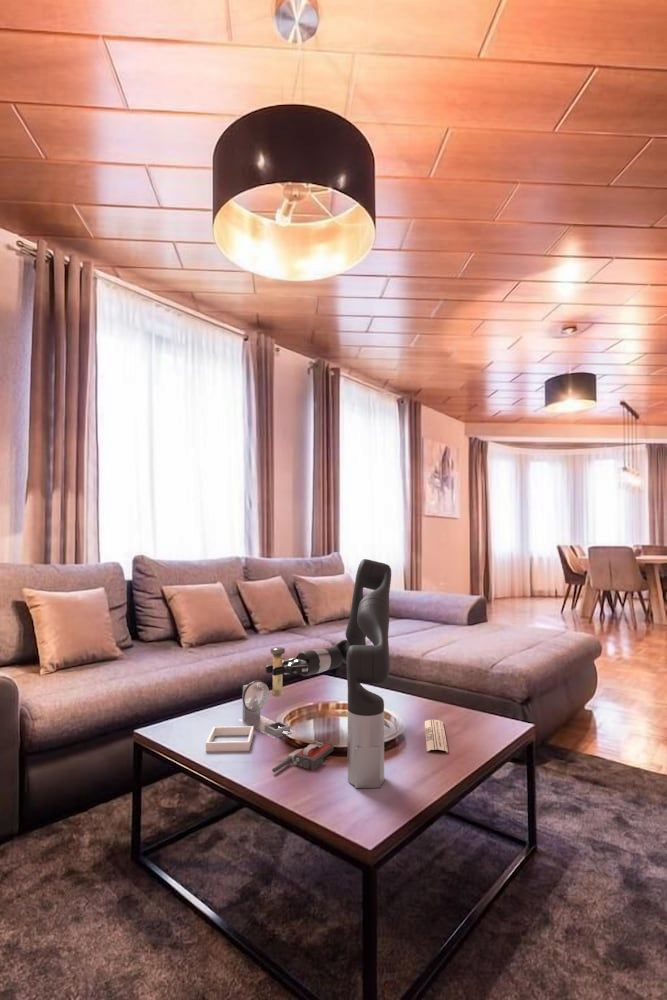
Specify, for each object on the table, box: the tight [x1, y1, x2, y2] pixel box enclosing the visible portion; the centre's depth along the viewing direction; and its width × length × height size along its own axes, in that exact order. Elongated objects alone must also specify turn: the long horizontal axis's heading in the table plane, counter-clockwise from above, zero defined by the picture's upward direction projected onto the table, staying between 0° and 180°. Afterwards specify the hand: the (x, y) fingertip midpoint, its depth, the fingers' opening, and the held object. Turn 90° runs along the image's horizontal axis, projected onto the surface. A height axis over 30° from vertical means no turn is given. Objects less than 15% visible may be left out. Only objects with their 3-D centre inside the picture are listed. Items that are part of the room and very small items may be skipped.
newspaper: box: [424, 719, 449, 755], centre depth 162 cm, size 24×7×2 cm, turn 172°
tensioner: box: [238, 679, 297, 739], centre depth 168 cm, size 20×10×14 cm, turn 41°
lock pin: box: [270, 646, 286, 698], centre depth 164 cm, size 4×4×14 cm
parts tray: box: [205, 725, 255, 752], centre depth 155 cm, size 12×12×4 cm
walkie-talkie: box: [271, 740, 335, 773], centre depth 144 cm, size 9×4×20 cm
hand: (269, 670), depth 162 cm, fingers closed on lock pin, 3 cm apart
